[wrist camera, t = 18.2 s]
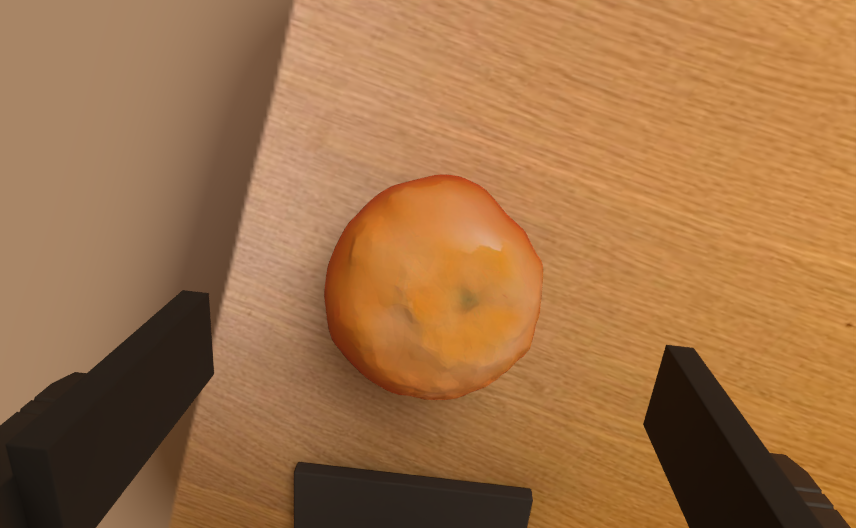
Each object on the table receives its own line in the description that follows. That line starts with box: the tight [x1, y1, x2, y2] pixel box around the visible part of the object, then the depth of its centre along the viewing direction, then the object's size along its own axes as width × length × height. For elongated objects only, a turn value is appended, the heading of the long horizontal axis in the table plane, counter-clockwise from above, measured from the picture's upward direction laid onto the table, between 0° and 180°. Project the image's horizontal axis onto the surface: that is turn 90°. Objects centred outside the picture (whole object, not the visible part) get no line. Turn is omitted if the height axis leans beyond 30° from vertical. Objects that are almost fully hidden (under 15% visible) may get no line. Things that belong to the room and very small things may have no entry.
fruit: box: [324, 175, 543, 400], centre depth 21 cm, size 8×8×8 cm
